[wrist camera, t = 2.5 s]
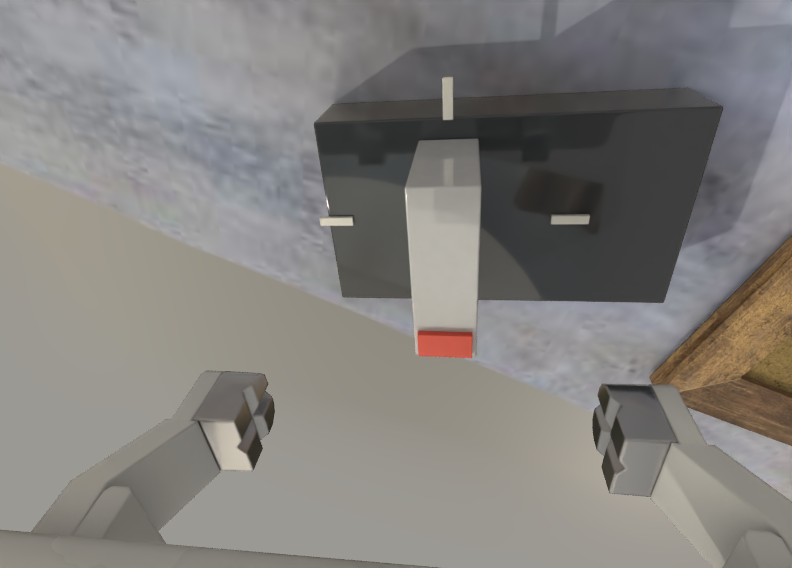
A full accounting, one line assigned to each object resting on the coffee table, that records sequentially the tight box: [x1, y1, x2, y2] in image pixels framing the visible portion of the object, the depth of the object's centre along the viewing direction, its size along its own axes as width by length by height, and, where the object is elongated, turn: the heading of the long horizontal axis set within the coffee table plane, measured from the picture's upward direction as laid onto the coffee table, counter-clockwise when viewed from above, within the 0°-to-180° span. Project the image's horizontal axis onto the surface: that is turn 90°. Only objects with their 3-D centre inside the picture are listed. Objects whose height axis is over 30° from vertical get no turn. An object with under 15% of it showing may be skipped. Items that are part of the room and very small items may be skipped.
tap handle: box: [405, 139, 482, 358], centre depth 17 cm, size 6×2×5 cm, turn 4°
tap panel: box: [314, 76, 723, 303], centre depth 20 cm, size 14×11×3 cm
